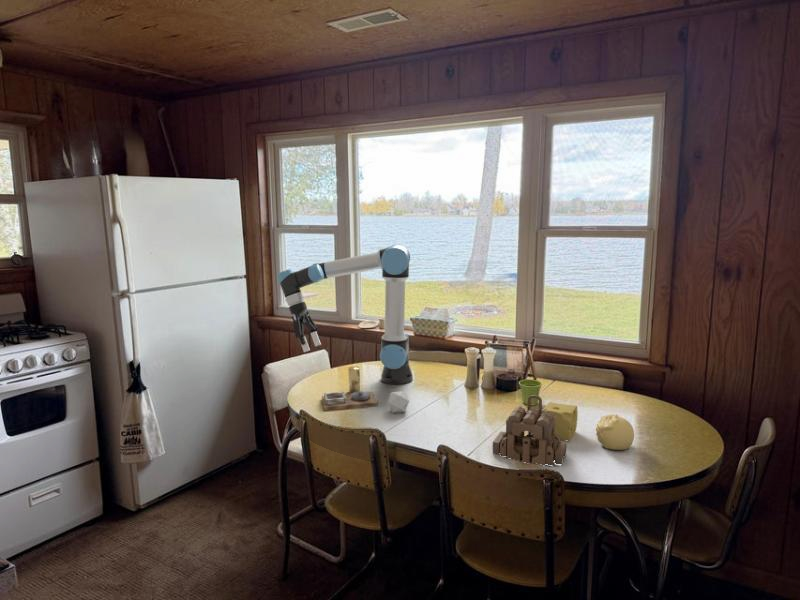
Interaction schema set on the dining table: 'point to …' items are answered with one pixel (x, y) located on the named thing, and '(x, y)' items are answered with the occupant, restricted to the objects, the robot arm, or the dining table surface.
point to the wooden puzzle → (531, 436)
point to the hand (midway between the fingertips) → (312, 348)
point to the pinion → (354, 379)
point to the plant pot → (530, 390)
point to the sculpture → (615, 432)
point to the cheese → (564, 419)
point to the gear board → (348, 400)
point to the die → (398, 402)
